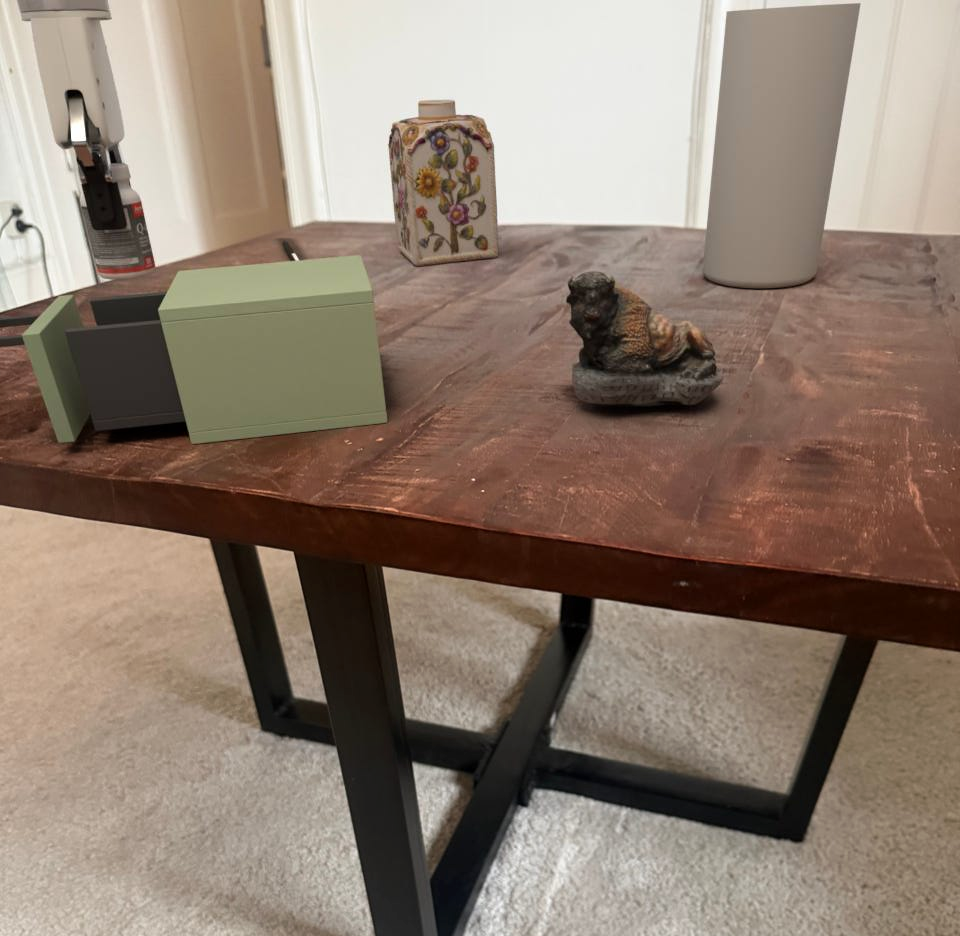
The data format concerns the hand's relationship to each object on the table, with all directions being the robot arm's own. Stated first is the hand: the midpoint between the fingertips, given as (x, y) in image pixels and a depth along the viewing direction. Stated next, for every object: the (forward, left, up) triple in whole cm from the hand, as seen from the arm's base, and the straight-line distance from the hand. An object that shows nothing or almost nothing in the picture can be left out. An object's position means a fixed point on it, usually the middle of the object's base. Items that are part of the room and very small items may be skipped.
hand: (115, 222), depth 87 cm
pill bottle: (0, 0, -5) cm, 5 cm away
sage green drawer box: (+16, -29, -11) cm, 34 cm away
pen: (+16, +33, -11) cm, 38 cm away
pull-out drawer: (+3, -29, -10) cm, 30 cm away
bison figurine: (+43, -38, -11) cm, 58 cm away
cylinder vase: (+69, -2, -11) cm, 69 cm away
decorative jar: (+37, +26, -11) cm, 46 cm away
